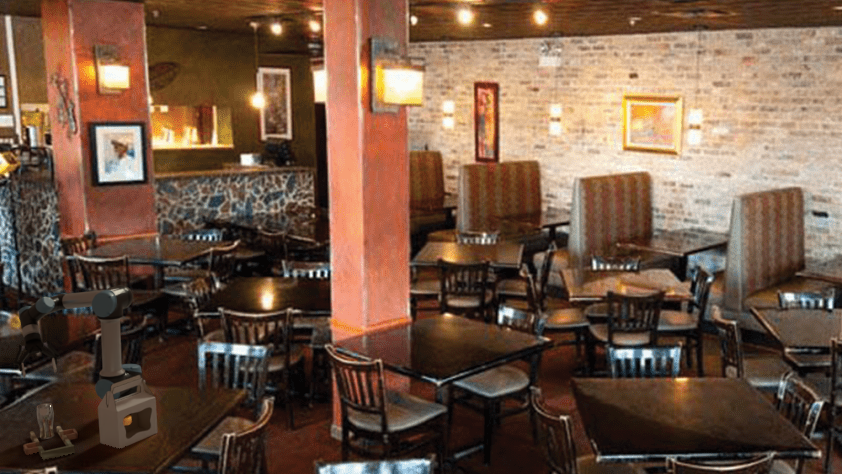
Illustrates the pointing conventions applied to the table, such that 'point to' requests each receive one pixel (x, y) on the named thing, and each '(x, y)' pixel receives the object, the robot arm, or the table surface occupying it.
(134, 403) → the gable box
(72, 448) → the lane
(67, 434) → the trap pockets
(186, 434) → the table surface
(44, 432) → the beer glass
